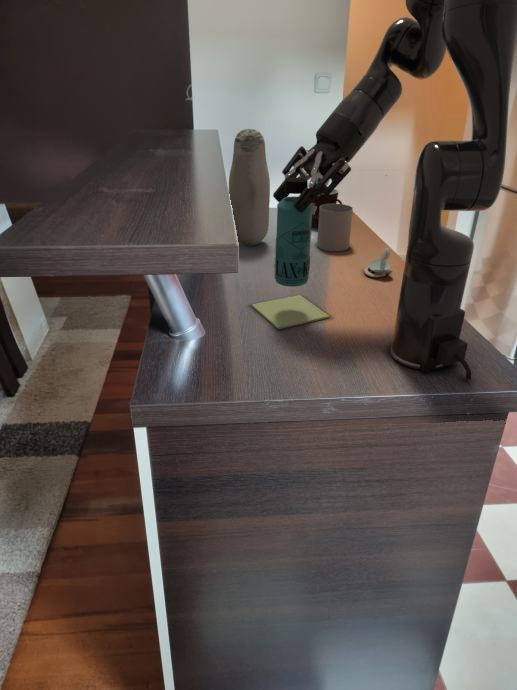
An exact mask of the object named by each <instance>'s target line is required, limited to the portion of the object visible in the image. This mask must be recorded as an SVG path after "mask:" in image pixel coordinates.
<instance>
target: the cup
mask: <svg viewBox="0 0 517 690" xmlns="http://www.w3.org/2000/svg"><path fill="white" fill-rule="evenodd" d="M353 209H354V208H353V206H351V205H347V204H344V203H342V204H340V203H336V204H324V205H321V206H320V209H319V224H318V228H317V241H316V247H317V248H318V249H320V250H323V251H327V252H328V251H329V252H342V251H343V252H344V251H346V250H348V249H350V243H351V242H350V241H351V231H352V221H353V211H354V210H353Z"/></svg>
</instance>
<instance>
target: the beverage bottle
mask: <svg viewBox="0 0 517 690" xmlns="http://www.w3.org/2000/svg"><path fill="white" fill-rule="evenodd" d="M284 180H285V186H284V192H286V193H290V195H291V194H292V195H293V196H288V197H285V198H284V199H282V200H281V201H280V202H278V203H277V205H276V208H277V209H276V210H277V211H276V212H277V213H276V214H277V215H276V236H275V237H276V238H275V246H274V247H275V248H274V250H275V258H274V266H273V267H274V271H273V274H274V280H275V282H276V283H277V284H278V285H280V286H282V287H283V286H284V287H292V288H293V287H295V288H296V287H301V286H304V285H306V284H307V283H308V281H309V277H310V267H311V266H310V265H311V253H312V252H311V246H312V245H311V242H312V241H311V238H312V227H311V222H312V209H313V205H312V204H311V203H310V205H309V206H308V207H307V208H306V209H305V210H304V212H302V213H300V212H298V211H297V210H296V209H295V208H294V207H293V203H294V202H295V200H296V199H297V198H298V197H299V196H294V195H300V194H301V193H302V192H303V190H304V189H305V188H306V187H307V188H309V187H308V185H309V182H308V181H309V180H307V179H304V178H298V177H296V178H287V179H285V178H284Z"/></svg>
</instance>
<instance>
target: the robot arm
mask: <svg viewBox="0 0 517 690" xmlns="http://www.w3.org/2000/svg"><path fill="white" fill-rule="evenodd" d="M404 2H405V8H406V10H407V12H408V14H410V15H411V16H412V18H411V17H408V16H403V17H400V18H398V19H396V20H394V21H393V22H392V23H391V24H390V25H389V26H388V28H387V29H386V32H385V34H384V35H383V38H382V40H381V42H380V45H379V47H378V49H377V51H376V54H375V55H374V58H373V60H372V62H371V63H370V65H369V67H368V69H367V71H366V72H365V74H363V76H362V78H361V79H360V80H359V81H358V83H356V85H355V86H354V87H353V88H352V89H351V90H350V92H349V93H348V94H347V95H346V96H345V97H343V99H342V100H341V101H340V102H339V103H338V105H337V106H336V107H335V109H333V110H332V112H331V113H330V115H328V117H327V119H326V120H325V121H324V122H323V123H322V125H321V126H320V127H319V128H318V130H317V131H316V133H315V138H316V143H315V144H314V145H313V146H312V147H311V148H310V149H309V150H308V149H306V148H305V147H304V146H303V145H301V146H300V147H299V148H298V149H297V150H296V152H295V153H294V154H293V156H292V157H291V158H290V160H289V161H288V162H287V164H286V165H285V166H284V168H283V169H282V171H281V173H282V174H283V175H284V179H283V181H282V182H281V184H280V185H279V186H278V187H277V188H276V189H275V191H274V192H273V194H272V197H273V199H275V201H277V202H278V203H279V202H280V201H281V200H282V199H284V198H285V197H289V196H290V195H291V193H286V192H284V186H285V179H287V178H304V179H307V181H309V182H308V188H307V187H306V188H305V189H304V190H303V192H302V193H301V194H298V196H297V197H298V198H297V199H296V200H295V202H294V203H293V207H294V208H295V209H296V210H297V211H298V212H300V213H302V212H304V210H305V209H306V208H307V207H308V206H309V205H310V203H311V202H312V201H313V200H314V199H315V197H316V196H317V197H319V196H320V195H321V194H324V195H325V196H328V195H329V194H330V193H331V192H332V191H333V190H334V189H336V188H337V187H338V186H339V184H340V183H341V182H342V181H343V180H344V179H345V178H346V177H347V175H349V173H350V172H351V171H352V167H351V165H349V164H348V163H350V162H351V161H352V160H353V158H354V157H355V156H356V155H357V154H358V153H359V151H360V150H361V149H362V148H363V146H364V145H365V144H366V142H367V141H368V140H369V139H370V137H371V136H372V135H373V134H374V132H375V131H376V130H377V128H378V127H379V125H380V123H381V122H382V121H383V119H384V118H385V117H386V116H387V115H388V113H389V112H390V111H391V109H392V108H393V107H394V106H395V105H396V103H397V102H398V101H399V100H400V98H401V96H402V93H403V85H402V82H401V80H400V79H399V77H398V76H397V75H396V74H395V72H394V71H393V70H392V69H391V68H392V67H393V66H394V67H396V68H397V69H399V70H401V71H402V72H403V73H405V74H407V75H408V76H411V78H414V79H416V80H422V81H423V80H427V79H429V78H431V77H432V76H433V75H434V74H436V72H438V70H439V68H440V67H441V65H443V61H444V58H445V57H446V53H448V56H449V58H450V61H451V62H452V64H453V67H454V69H455V71H456V73H457V75H458V77H459V79H460V81H461V83H462V86H463V87H464V90H465V92H466V93H465V94H466V96H467V99H468V103H469V108H470V116H471V117H470V118H471V139H470V140H433V141H432V140H431V141H429V142H427V143H426V144H425V145H423V147H422V149H421V151H420V152H419V154H418V157H417V161H416V165H415V170H414V178H413V187H412V188H413V189H412V198H411V199H412V201H411V209H410V218H409V224H408V237H407V246H406V254H405V261H404V267H403V273H402V279H401V286H400V291H399V299H398V305H397V309H396V310H397V311H396V316H395V324H394V329H393V330H394V331H393V337H392V342H391V343H392V344H391V345H390V355H391V357H392V359H394V360H395V361H396V362H397V363H399V364H401V365H403V366H406V367H408V368H411V369H416V370H419V371H421V372H423V373H425V374H426V373H430V372H432V371H433V372H434V371H436V370H440V369H443V368H446V367H449V366H450V367H451V366H453V365H454V364H456V363H460V364H461V366H462V367H463V368H464V370H465V379H466V380H467V381H470V380H471V379H472V369H471V366H470V365H469V364H468V362H467V361H466V360H465V358H466V354H467V351H468V350H467V349H468V346H469V343H468V342H466V341H464V340H462V339H461V338H460V337H461V334H462V330H463V326H464V325H463V324H464V321H465V316H466V311H465V310H464V309H462V304H463V300H464V299H463V298H464V295H465V289H466V284H467V280H468V276H469V272H470V267H471V264H472V263H471V262H472V259H473V254H474V248H475V243H474V240H473V239H472V238H470V237H469V235H466V234H465V233H462V232H460V231H457V230H455V229H452V228H449V227H447V226H445V225H443V223H442V213H443V212H483V211H486V210H489V209H490V208H491V207H492V206H493V205H494V204H495V202H496V201H497V199H498V197H499V194H500V191H501V190H502V189H501V188H502V185H503V180H504V175H505V169H506V154H507V140H508V139H507V138H508V122H509V106H510V105H509V104H510V93H511V84H512V75H513V67H514V60H515V53H516V46H517V0H405V1H404ZM330 181H331V182H330Z"/></svg>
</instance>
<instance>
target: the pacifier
mask: <svg viewBox="0 0 517 690" xmlns="http://www.w3.org/2000/svg"><path fill="white" fill-rule="evenodd" d="M390 255H391V251H390V249H389V247H387V246H385V247H384V248H383V250H382V252H381V255H380V258H377V259H374V260H372V261H371V262H370V264H369V266H366V267H365V268H364V270H363V272H364V274H365V275H366V276H368V277H371V278H381V277H385V276H386V275H387V274H390V273H393V270H390V269H391V264H390V263H389V262H388V261H387V260H388V259H389V258H390ZM370 271H372V272H374V273H372V272H370Z"/></svg>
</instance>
